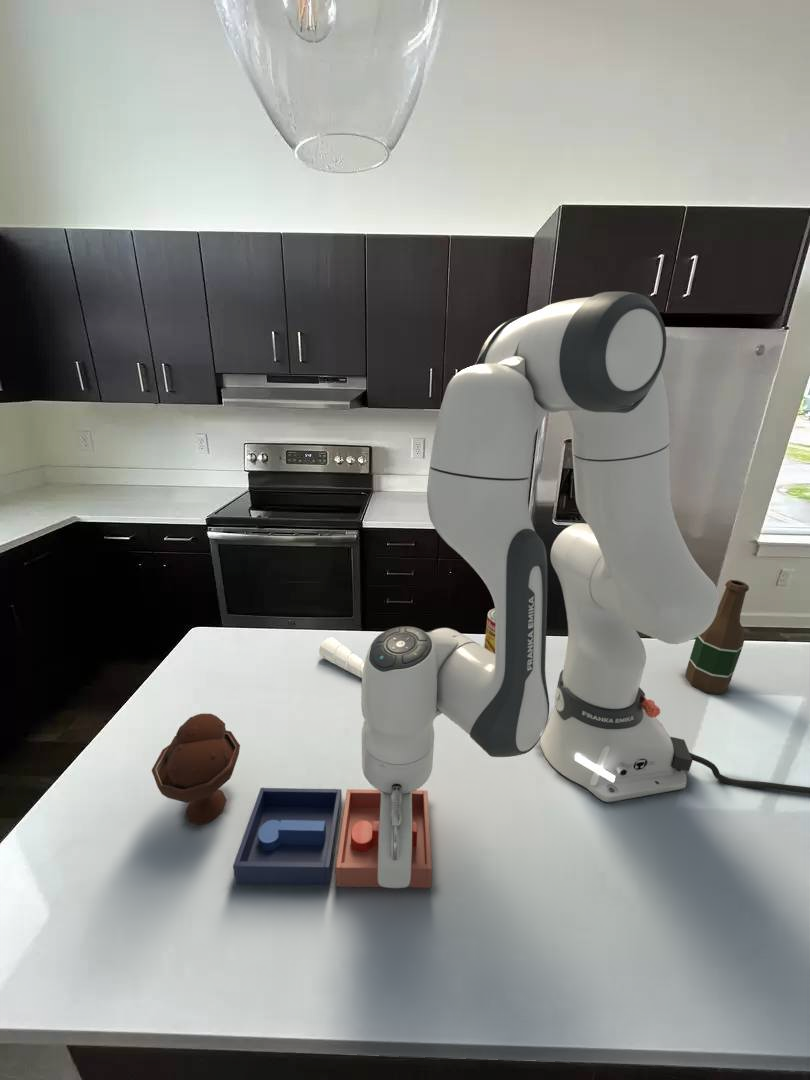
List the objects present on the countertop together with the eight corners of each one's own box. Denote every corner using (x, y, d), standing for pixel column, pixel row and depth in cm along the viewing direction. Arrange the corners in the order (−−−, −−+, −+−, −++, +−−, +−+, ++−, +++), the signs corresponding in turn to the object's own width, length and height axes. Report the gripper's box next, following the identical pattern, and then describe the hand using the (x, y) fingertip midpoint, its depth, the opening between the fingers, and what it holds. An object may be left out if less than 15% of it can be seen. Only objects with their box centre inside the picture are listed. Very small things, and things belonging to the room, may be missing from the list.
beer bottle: (726, 680, 93) (760, 580, 84) (728, 700, 87) (766, 595, 78) (684, 667, 97) (713, 571, 88) (683, 686, 90) (715, 584, 82)
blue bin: (342, 806, 63) (341, 788, 62) (330, 886, 53) (329, 867, 52) (262, 805, 63) (260, 787, 62) (236, 885, 53) (232, 866, 52)
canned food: (478, 652, 100) (483, 607, 96) (511, 651, 101) (517, 606, 97) (488, 674, 93) (493, 626, 89) (523, 672, 94) (530, 625, 89)
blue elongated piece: (327, 828, 59) (326, 814, 58) (323, 852, 56) (322, 837, 55) (263, 827, 59) (261, 812, 58) (255, 851, 56) (253, 836, 55)
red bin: (426, 807, 63) (427, 790, 62) (430, 887, 53) (431, 869, 52) (347, 806, 63) (346, 789, 62) (336, 886, 53) (335, 867, 52)
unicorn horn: (395, 710, 81) (395, 690, 80) (317, 659, 96) (316, 641, 94) (411, 698, 85) (412, 678, 83) (334, 650, 99) (333, 633, 98)
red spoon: (416, 829, 59) (416, 815, 58) (416, 853, 56) (417, 838, 55) (352, 828, 59) (352, 813, 58) (349, 851, 56) (349, 837, 55)
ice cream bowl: (166, 789, 65) (148, 710, 60) (244, 766, 69) (233, 690, 64) (159, 856, 56) (137, 770, 51) (249, 824, 60) (237, 742, 55)
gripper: (426, 837, 43) (420, 924, 48) (420, 697, 62) (416, 769, 67) (364, 836, 43) (364, 922, 48) (377, 696, 62) (376, 768, 67)
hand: (395, 831), depth 57 cm, fingers closed on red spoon
